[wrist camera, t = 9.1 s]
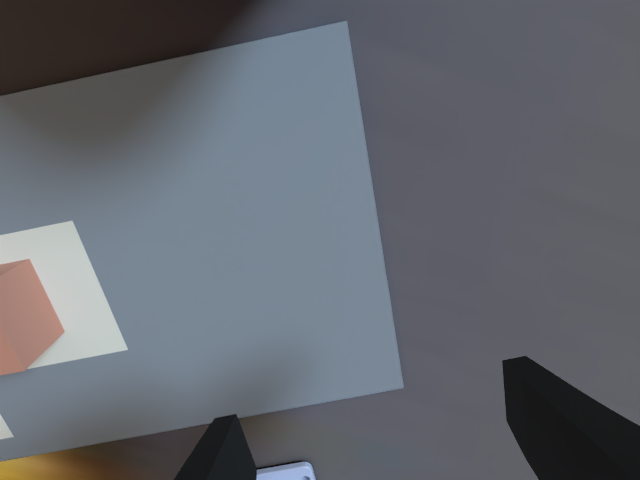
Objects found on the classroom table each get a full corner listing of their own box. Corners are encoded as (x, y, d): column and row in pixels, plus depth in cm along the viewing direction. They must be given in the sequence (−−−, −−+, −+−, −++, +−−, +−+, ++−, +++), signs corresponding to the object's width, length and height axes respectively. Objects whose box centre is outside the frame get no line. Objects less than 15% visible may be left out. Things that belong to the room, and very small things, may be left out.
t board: (402, 384, 22) (403, 388, 22) (-112, 478, 23) (-117, 483, 23) (346, 21, 16) (346, 20, 15) (-349, 173, 17) (-361, 174, 17)
